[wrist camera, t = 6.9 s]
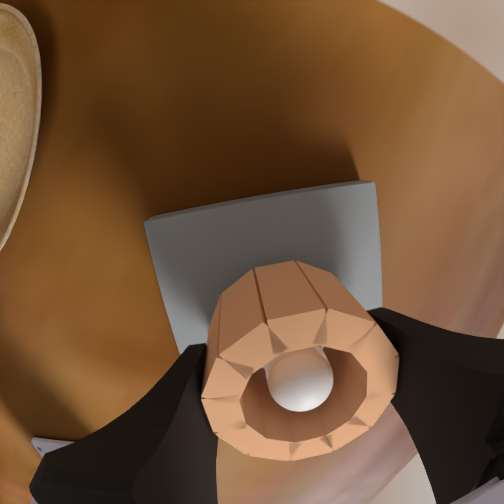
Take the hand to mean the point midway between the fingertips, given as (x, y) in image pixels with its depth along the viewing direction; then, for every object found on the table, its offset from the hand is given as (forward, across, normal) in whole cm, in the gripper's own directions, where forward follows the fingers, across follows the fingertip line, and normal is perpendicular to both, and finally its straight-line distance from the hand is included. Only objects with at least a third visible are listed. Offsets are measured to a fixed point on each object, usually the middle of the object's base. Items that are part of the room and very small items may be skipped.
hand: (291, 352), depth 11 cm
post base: (+4, 0, 0) cm, 4 cm away
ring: (+1, 0, 0) cm, 1 cm away
